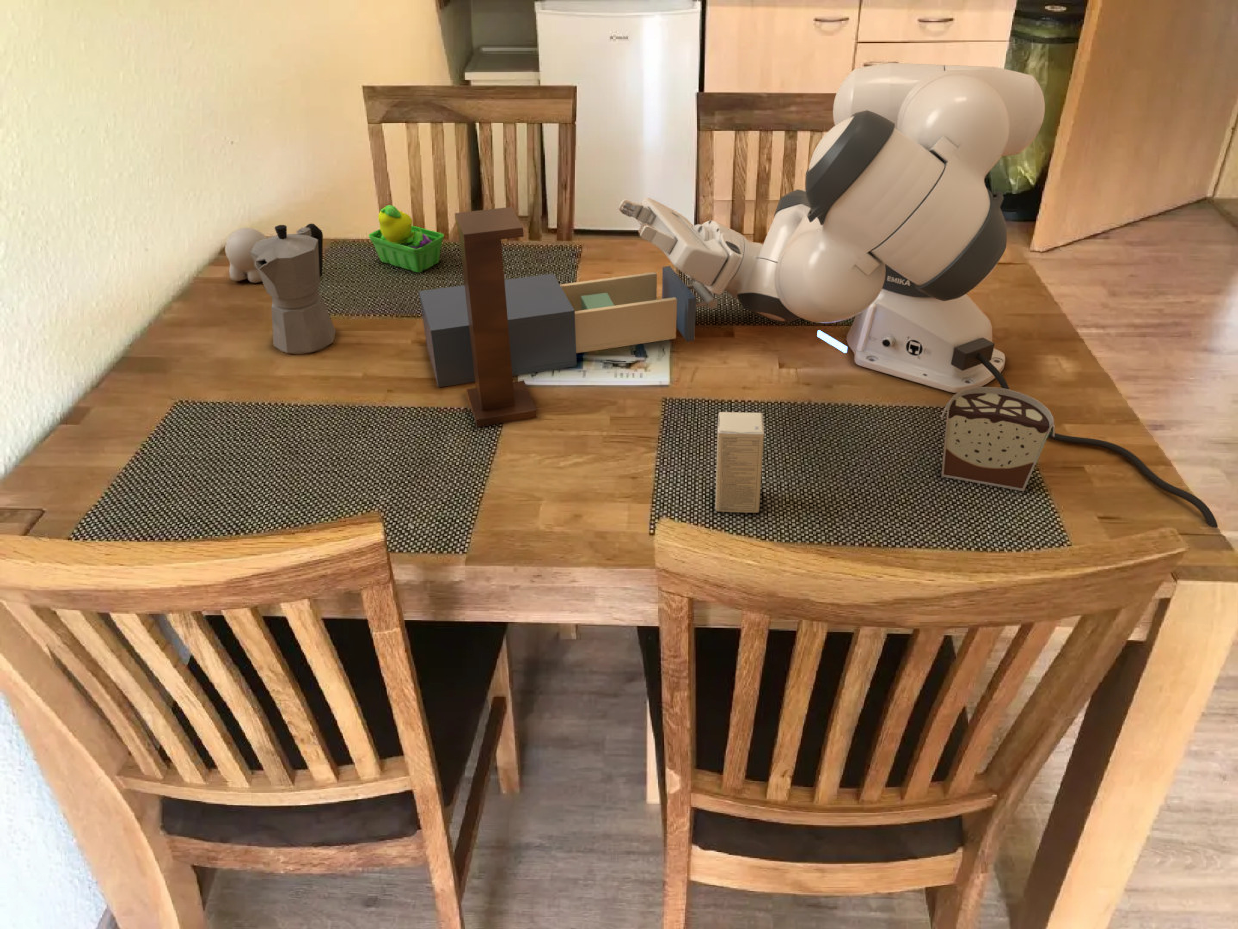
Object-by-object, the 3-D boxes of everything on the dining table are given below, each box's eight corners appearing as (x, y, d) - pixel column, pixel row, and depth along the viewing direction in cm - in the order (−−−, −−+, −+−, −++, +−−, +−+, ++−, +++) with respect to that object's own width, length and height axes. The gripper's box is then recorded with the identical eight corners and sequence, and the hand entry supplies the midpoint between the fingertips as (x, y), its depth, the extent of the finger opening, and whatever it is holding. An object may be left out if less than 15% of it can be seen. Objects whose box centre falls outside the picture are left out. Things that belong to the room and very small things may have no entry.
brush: (589, 338, 142) (588, 310, 139) (581, 323, 146) (580, 295, 143) (671, 327, 144) (672, 300, 142) (662, 313, 148) (662, 285, 145)
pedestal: (524, 387, 135) (510, 204, 120) (537, 417, 128) (524, 228, 113) (466, 396, 133) (445, 212, 118) (476, 427, 127) (455, 236, 111)
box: (758, 491, 115) (765, 412, 108) (759, 514, 111) (766, 433, 105) (713, 489, 115) (718, 410, 109) (712, 512, 112) (717, 431, 105)
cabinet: (556, 326, 149) (553, 273, 144) (576, 366, 139) (574, 310, 134) (426, 345, 145) (418, 290, 140) (438, 387, 135) (430, 330, 130)
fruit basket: (449, 261, 170) (442, 198, 163) (415, 280, 164) (405, 215, 157) (400, 248, 175) (391, 186, 168) (365, 265, 169) (354, 202, 162)
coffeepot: (308, 365, 140) (282, 247, 130) (252, 356, 143) (222, 239, 132) (362, 318, 152) (342, 206, 142) (310, 310, 155) (286, 200, 144)
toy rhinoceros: (293, 289, 161) (282, 240, 156) (224, 285, 163) (212, 236, 158) (310, 271, 167) (300, 223, 162) (244, 267, 168) (232, 220, 164)
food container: (1037, 464, 119) (1058, 394, 113) (1037, 493, 114) (1059, 421, 108) (932, 446, 122) (947, 377, 116) (928, 474, 117) (943, 403, 111)
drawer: (694, 303, 153) (696, 262, 149) (721, 336, 144) (724, 293, 140) (553, 323, 148) (550, 281, 144) (571, 359, 139) (569, 315, 135)
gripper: (696, 208, 150) (620, 172, 143) (747, 261, 134) (665, 223, 127) (675, 245, 152) (600, 210, 145) (723, 300, 136) (641, 265, 129)
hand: (631, 217), depth 136 cm, fingers open, 8 cm apart
